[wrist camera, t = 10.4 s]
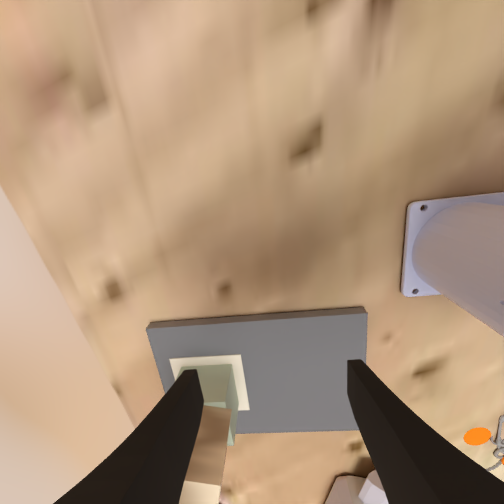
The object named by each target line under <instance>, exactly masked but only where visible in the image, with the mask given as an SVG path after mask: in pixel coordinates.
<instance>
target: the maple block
mask: <svg viewBox="0 0 504 504" xmlns="http://www.w3.org/2000/svg"><path fill="white" fill-rule="evenodd" d="M231 411H232V409H227V408H220V407H213V406H206V405H203V411H202V417H201V423H200V427H199V431H198V434H197V438H196V441H195V445H194V449H193V452H192V456H191V459H190V463H189V466H188V470H187V473H186V477H185V480H184V484H183V488H182V492H181V496H180V501H179V504H219V499H220V492H221V485H222V478H223V471H224V464H225V457H226V450H227V442H228V434H229V427H230V419H231Z"/></svg>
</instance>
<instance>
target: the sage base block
mask: <svg viewBox="0 0 504 504" xmlns="http://www.w3.org/2000/svg"><path fill="white" fill-rule="evenodd" d="M188 369H197V373H198V377H199V381H200V385H201V389H202V394H203V398H204V405H206V406H213V407H220V408H227V409H232V411H231V419H230V427H229V434H228V442H227V446H233V445H234V440H235V432H236V423H237V415H238V406H239V401H238V396H237V390H236V385H235V379H234V373H233V368H232V364H222V365H204V366H185V367H181V369H180V371H179V373H178V376H177V378H178V377H179V376H180V375H181V373H182V372H183V371H184V370H188ZM177 378H176V380H177ZM176 380H175V381H176Z"/></svg>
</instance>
